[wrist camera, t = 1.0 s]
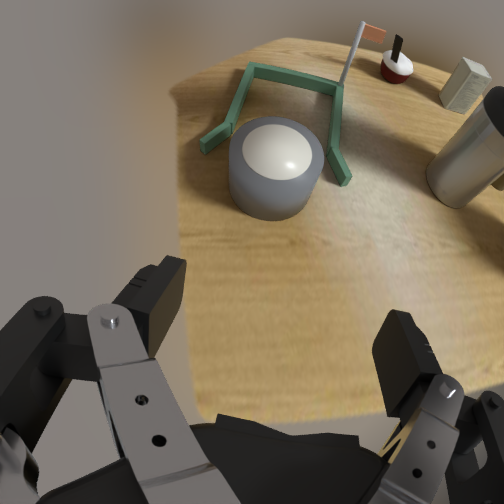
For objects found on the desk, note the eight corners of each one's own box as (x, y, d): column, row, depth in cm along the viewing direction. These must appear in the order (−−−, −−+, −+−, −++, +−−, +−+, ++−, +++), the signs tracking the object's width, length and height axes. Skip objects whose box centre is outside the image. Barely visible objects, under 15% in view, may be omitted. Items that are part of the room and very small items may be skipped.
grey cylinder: (289, 143, 45) (298, 108, 38) (323, 206, 42) (341, 176, 35) (217, 163, 43) (216, 128, 36) (246, 233, 40) (250, 204, 33)
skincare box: (458, 101, 54) (483, 65, 43) (465, 115, 53) (493, 79, 41) (436, 94, 54) (462, 55, 42) (443, 109, 52) (471, 70, 41)
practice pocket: (350, 189, 43) (398, 114, 28) (199, 153, 44) (190, 65, 29) (356, 98, 50) (386, 28, 35) (235, 69, 50) (239, -7, 35)
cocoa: (398, 70, 56) (419, 29, 44) (413, 89, 53) (438, 47, 42) (363, 67, 54) (382, 21, 43) (378, 87, 52) (401, 39, 41)
